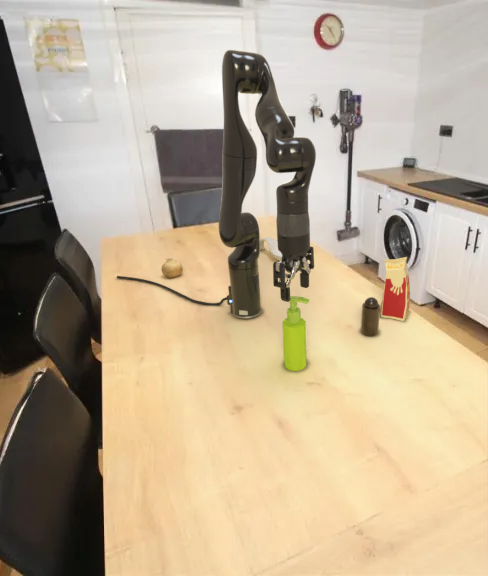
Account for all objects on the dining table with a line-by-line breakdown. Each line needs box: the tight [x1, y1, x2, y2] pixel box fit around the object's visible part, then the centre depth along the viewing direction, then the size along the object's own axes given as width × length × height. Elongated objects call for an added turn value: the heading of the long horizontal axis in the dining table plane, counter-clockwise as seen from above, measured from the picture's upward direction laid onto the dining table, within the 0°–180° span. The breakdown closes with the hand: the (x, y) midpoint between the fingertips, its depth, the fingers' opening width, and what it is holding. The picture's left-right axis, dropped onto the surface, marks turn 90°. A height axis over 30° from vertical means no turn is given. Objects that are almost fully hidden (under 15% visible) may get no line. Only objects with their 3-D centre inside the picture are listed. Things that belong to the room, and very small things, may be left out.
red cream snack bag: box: [379, 256, 411, 322], centre depth 131 cm, size 9×9×20 cm
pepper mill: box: [360, 296, 381, 337], centre depth 122 cm, size 5×5×12 cm
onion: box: [160, 258, 183, 279], centre depth 161 cm, size 8×8×7 cm
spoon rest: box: [260, 236, 282, 262], centre depth 180 cm, size 24×12×7 cm, turn 48°
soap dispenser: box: [282, 295, 311, 372], centre depth 105 cm, size 6×7×20 cm
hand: (295, 293), depth 100 cm, fingers open, 8 cm apart
